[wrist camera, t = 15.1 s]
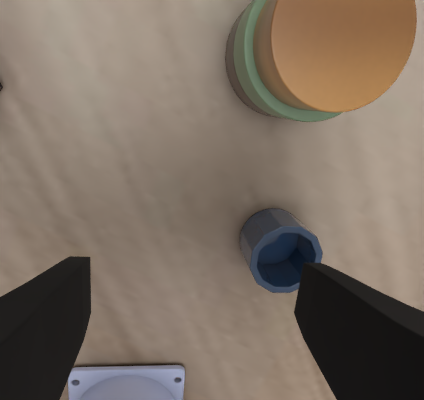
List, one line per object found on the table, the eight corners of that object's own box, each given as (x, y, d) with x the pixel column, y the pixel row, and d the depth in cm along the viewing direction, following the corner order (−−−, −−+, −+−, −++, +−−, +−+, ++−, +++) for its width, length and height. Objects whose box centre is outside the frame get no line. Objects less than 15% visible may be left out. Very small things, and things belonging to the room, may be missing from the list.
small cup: (295, 267, 23) (314, 293, 20) (236, 265, 22) (246, 292, 19) (306, 209, 22) (328, 227, 19) (243, 206, 21) (255, 225, 18)
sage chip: (343, 123, 18) (369, 127, 15) (226, 113, 17) (235, 115, 15) (371, -13, 16) (404, -31, 14) (240, -32, 15) (253, -55, 13)
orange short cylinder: (359, 115, 15) (396, 118, 13) (245, 104, 14) (261, 106, 12) (387, -20, 14) (435, -45, 11) (261, -39, 13) (282, -71, 10)
